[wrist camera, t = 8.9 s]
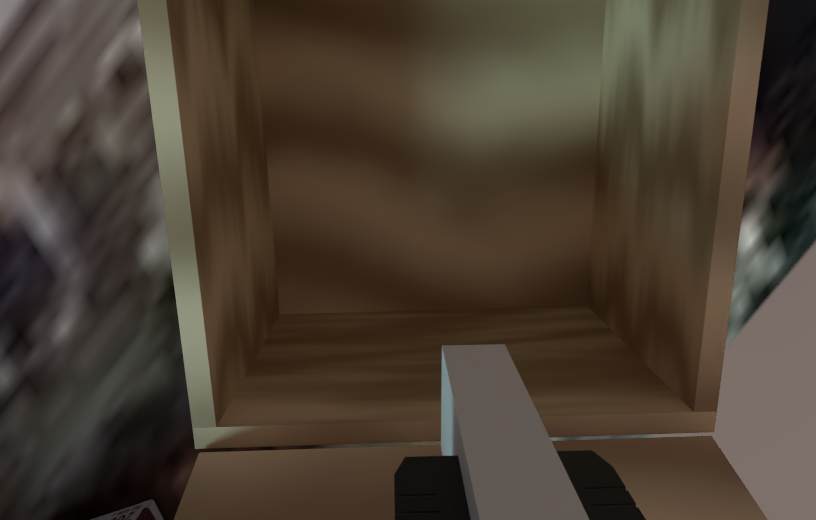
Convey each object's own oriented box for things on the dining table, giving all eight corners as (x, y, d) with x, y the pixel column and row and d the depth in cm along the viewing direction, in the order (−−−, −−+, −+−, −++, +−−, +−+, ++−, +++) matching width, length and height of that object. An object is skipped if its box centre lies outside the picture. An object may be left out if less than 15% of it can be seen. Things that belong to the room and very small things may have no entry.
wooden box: (237, -39, 27) (117, -155, 15) (619, -45, 27) (789, -163, 15) (268, 323, 31) (195, 448, 20) (595, 314, 32) (714, 432, 20)
